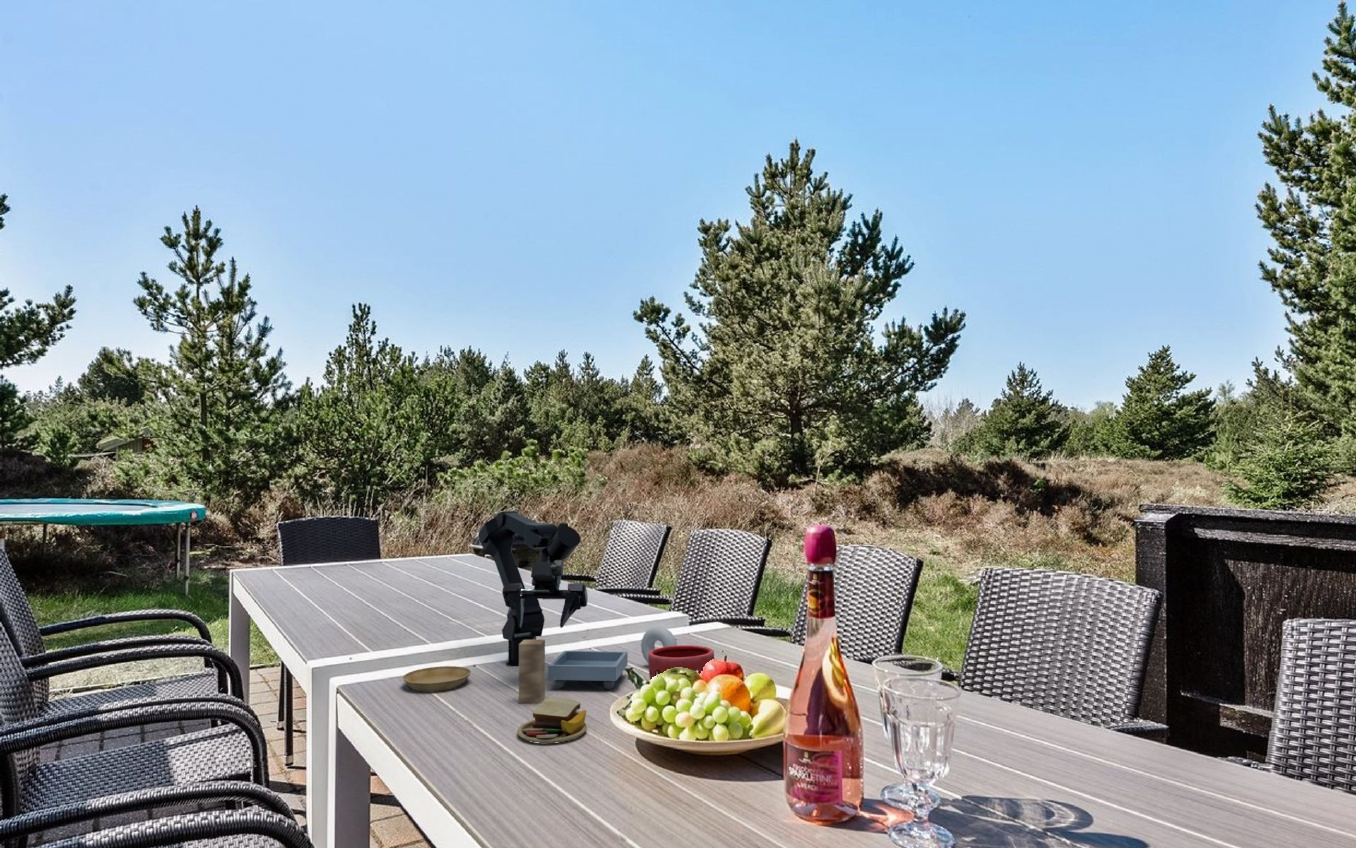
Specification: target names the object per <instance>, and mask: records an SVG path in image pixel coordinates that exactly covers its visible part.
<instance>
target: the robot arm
mask: <svg viewBox="0 0 1356 848" xmlns="http://www.w3.org/2000/svg"><path fill="white" fill-rule="evenodd" d="M516 535H519V536H520V537H522V538H524V542H523V543H524V544H526V545H527V547H529V548H530V549H531V550H532V549H533V550H537V549H538V550H539V549H541V550H540V553H539V558H538V561H535V562H534V561H533V562H532V563H531V571H530V572H531V573H530V574H531V575H530V577H531V578H532V579H531V586H532V587H533V589H532V588H528V589H527V588H526V587H525V583H524V582H523V578H522V575H521V573H520V571H519V568H518V565H517V562H516V559H515V557H514V554H513V552H512V549H513V544H514V541H515V536H516ZM478 541H479V543H480V544H481V547H482V549H483V550H484V551H483V552H485V553H486V554H487V555H488V556H490V557H492V558H493V560H494V563H495V566H496V568H497V572H498V575H499V578H500V580H501V583H502V587H503V588H502V591H501V593H502V597H503V600H504V604H505V606H506V607H507V608H508V611H507V614H506V618H507V620H506V622H505V624H504V625H503V627H502V630H501V633H502V638H503V639H504V640H507V642H508V643H507V644H508V645H507V647H508V657H507V661H506V663H505V665H506V666H508V665H509V666H519V644H520V643H521V642H522V641H523V640H537V637H543V636H542V635H543V631H544V626H545V616H544V613H543V609H542V607H541V605H540V601H539V600H564V604H563V608H562V612H561V617H560V622H559V627H560V629H563V627H564V626H565V625H566V623H567V622H568V621H569V619H570V617H572V615H574V614H575V612H576V611H577V610H581V608H585V607H586V606H588V597H589V596H588V589H587V585H586V584H585V583H583V582H579V583H578V582H574V583H573V582H572V583H571V582H569V583H568V584H567V589H560V587H561V586H560V585H561V581H562V576H564V560H566V559H567V560H568V558H570V556H571V555H572V554H573V552H574V551H575V549H577V547H578V546H579V544H580V543H581V535H580V533H579V532H577V531H576V529H575V528H573V527H571V526H569V524H568V523H567V522H563V523H559V524H558V525H556V524H555V523H550V522H549V523H548V522H536V521H534V520H532V519H530V518H529V517H526V516H525V515H523V514H520V513H519V512H518V511H515V510H503V511H499V512H497V514H496V515H495V516H494V517H493V518H491V519H489V520H488V521H486V522H485V523H484V524H483V526H481V528H480V530H479V531H478Z"/></svg>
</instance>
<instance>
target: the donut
mask: <svg viewBox="0 0 1356 848" xmlns="http://www.w3.org/2000/svg"><path fill="white" fill-rule="evenodd" d="M657 641H658V642H660V643H661V644H662V647H667V646H678V643H677V640H676V637H675V636H674V634H673V633H672V631H670V630H669V629H668V628H666V627H663V626H661V625H660V626H658V625H657V626H652V627H651V628H649V629H647V631H645V633H644V634H643V637H642V639H641V643H640V649H641V653H642V656H643V659H644V660H645V662H646V663H647V664H648V665H649V663H648V654H649V652H650V651H652V650H654V649H656V647H655V645H656V643H657Z"/></svg>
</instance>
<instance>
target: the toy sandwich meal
mask: <svg viewBox="0 0 1356 848" xmlns="http://www.w3.org/2000/svg"><path fill="white" fill-rule="evenodd" d="M580 709H581V702H580V701H578V700H576V699H575V700H574V699H571V698H564V697H548V698H544V699H543V701H542V702H541V704H539V706H537V708H535V710H534V711H533V713H532V718H534V720H533V719H532V720H530V721H527V722H525V723H522V725H520V726H519V727H518V728H517V731H516V733H517V735H518V736H519V737H521V739H522V738H523V739H525V740H527V741H532V742H539V743H555V742H563V741H568V742H571V741H570V740H572V739H574V740H576V738H577V739H578V738H580V737H581V736H582V735H583V734H584V733H585V732H586V731H587V728H588V726H587V724H586V722H585V721H586V720H585V719H586V716H587V715H586V714H587V710H585V709H583V710H581V711H578V710H580ZM579 736H580V737H579ZM523 739H522V740H523ZM525 740H524V741H525ZM527 741H526V742H527ZM572 741H573V740H572Z"/></svg>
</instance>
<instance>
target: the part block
mask: <svg viewBox="0 0 1356 848" xmlns="http://www.w3.org/2000/svg"><path fill="white" fill-rule="evenodd" d="M545 697H546V639H536V640H523V641H522V642H521V643H520V644H519V665H518V704H521V705H522V704H523V705H524V704H527V705H528V704H530V705H531V704H532V705H533V704H534V703H535V704H539V705H541V704H542V703H543V702H544V699H546V698H545Z"/></svg>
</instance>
